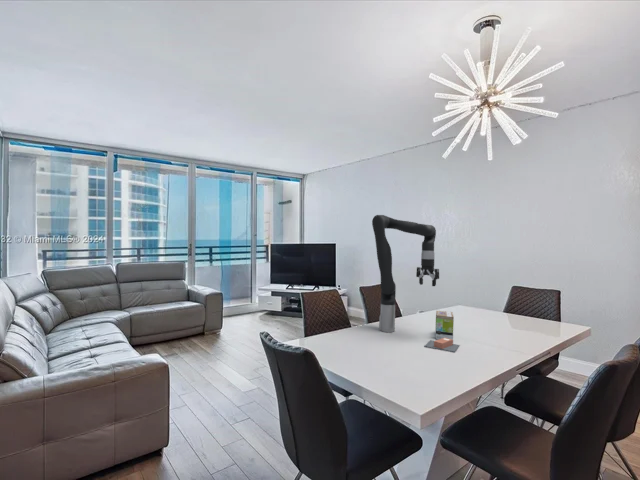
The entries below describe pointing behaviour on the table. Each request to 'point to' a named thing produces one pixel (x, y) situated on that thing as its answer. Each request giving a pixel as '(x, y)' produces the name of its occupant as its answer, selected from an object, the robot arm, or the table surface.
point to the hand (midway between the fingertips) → (427, 285)
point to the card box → (443, 343)
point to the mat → (450, 348)
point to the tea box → (444, 325)
